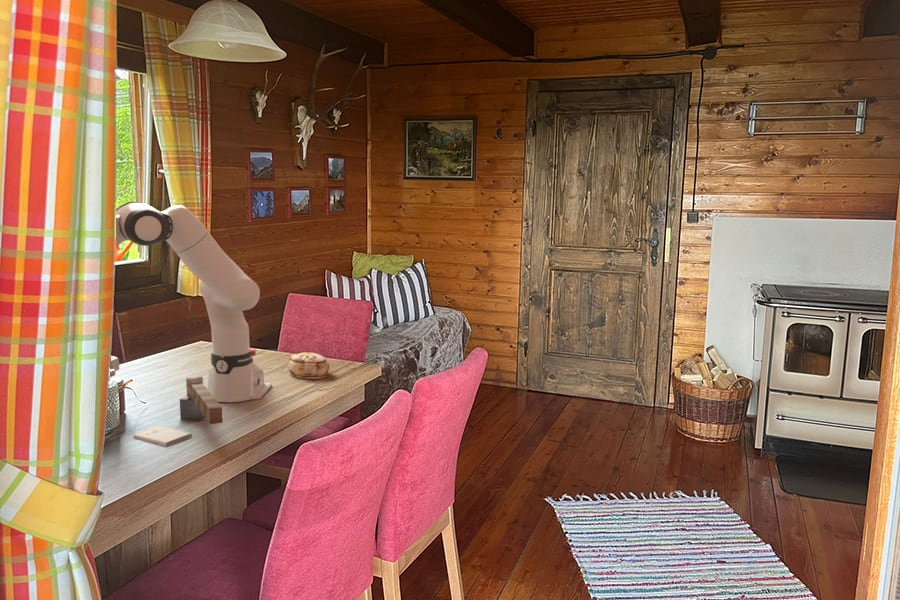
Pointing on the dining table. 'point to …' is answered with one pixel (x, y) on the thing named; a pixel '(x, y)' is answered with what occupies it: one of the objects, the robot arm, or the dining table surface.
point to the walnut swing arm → (204, 399)
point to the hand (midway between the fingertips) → (111, 373)
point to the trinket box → (308, 365)
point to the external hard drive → (162, 435)
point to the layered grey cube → (190, 410)
